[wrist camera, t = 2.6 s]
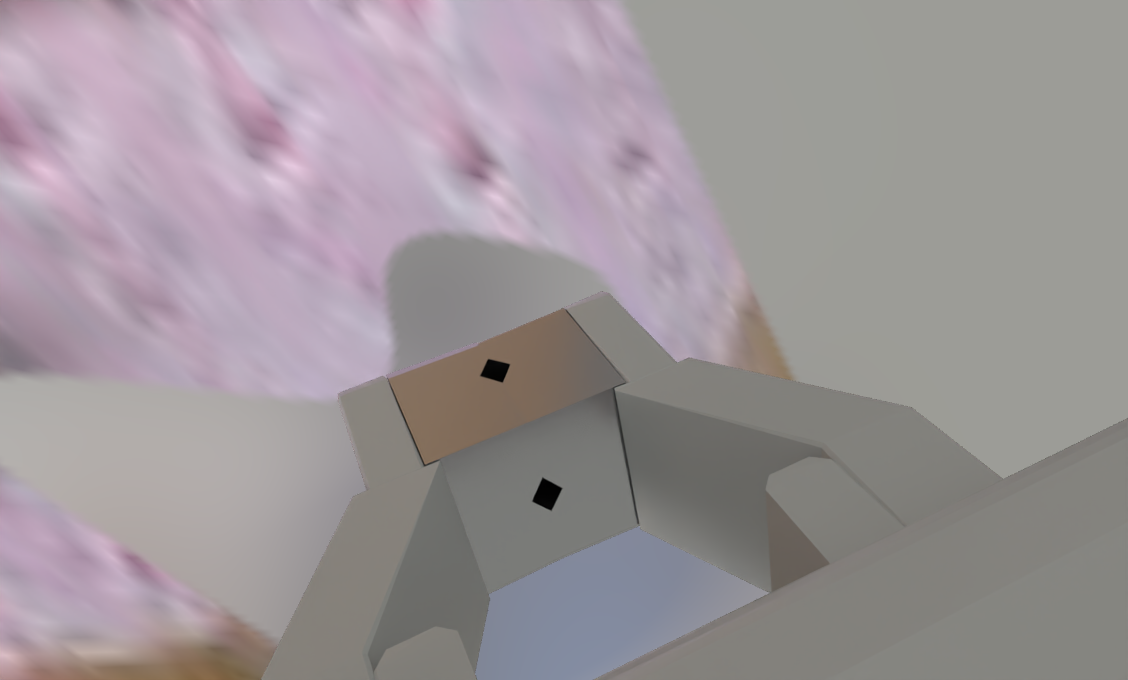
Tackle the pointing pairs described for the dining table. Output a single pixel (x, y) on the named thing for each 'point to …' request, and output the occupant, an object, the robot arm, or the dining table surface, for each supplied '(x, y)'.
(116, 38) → the dining table surface
